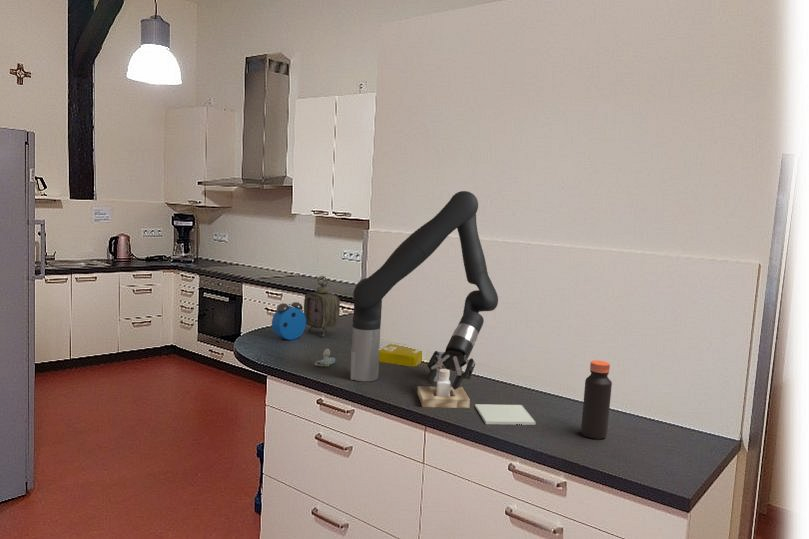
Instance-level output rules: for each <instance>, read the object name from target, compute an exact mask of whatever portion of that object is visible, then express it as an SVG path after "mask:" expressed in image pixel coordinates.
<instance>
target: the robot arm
mask: <svg viewBox="0 0 809 539" xmlns="http://www.w3.org/2000/svg"><path fill="white" fill-rule="evenodd" d="M478 201H479V200H478V198H477V197H476V195H475V194H474V193H472V192H470V191H467V190H461V191H458V192H456V193H454V194H453V195H452V197H451V198H450V200H449V201H448V202H447V203H446V204H445V205H444V207H442V208H441V209H440V211H439V212H437V214H436V215H435V216H434V217H433V218H432V219H430V220H429V221H427V222H425V223H424V224H423V225H421V226H420V227H419V228H418V229H416V230H415V231H414V232H412V233H411V234H410V235H409V236H408V237H407V238H406V239H404V241H402V242H401V243H400V244H399V245H398V246H397V247H396V248H395V249H394V250H393V252H392V253H391V254H390V256H389V257H388V258H387V259H386V261H385V262H384V263H383V265H382V266H380V267H379V268H378V269H377V270H376V271H375V272H374V273H372V274H371V275H369V276H368V277H366V278H362V279H361V280H359V281H358V282H357V283H356V285H355V287H354V288H353V289H354V290H353V294H352V295H353V297H352V298H353V316H352V329H351V330H352V334H351V352H350V380H351V381H357V382H374V381H376V380H378V379H379V372H380V371H379V365H380V362H379V350H380V349H381V348H380V346H381V344H380V343H381V326H382V306H383V305H382V303H383V299H384V298H385V296H386V295H387V294H388V293H389V292H390V291H391V290H392V289H393V288H394V286H396V284H398V283H399V282H400V281H401V280H403V279H405V278H406V277H407V276H408V275H409V274H411V273H412V272H414V270H417V268H418V267H419V266H421V265H422V264H424V262H425V261H426V260H427V259H428V258H430V257H431V256H432V254H433V253H435V251H436V250H437V249H438V248H439V247H440V246H441V244H442V243H443V242H444V241H445V240H446V238H447V237H448V236H449V235H451V233H453V232H454V231H455V230H456V229H457V232H458V237H459V242H460V246H461V254H462V260H463V268H464V271H465V277H466V281H467V282H468V283H469V284H470V285H475V286H476V287H477V288H478V290H477V289H476V290H472V291H471V292H469V293H468V294H467V296H466V298H465V301H464V306H463V313H462V316H461V319H460V321H459V322H458V324H457V326H456V327H455V329H454V331H453V332H452V335H451V337H450V339H449V341H448V343H447V345H446V347H445V350H444V351H443V352H444V353H443V354H440V353H438V352H439V351H438V350H435V351H434V352H433V354H432V355H431V357H430V359H429V360H428V363H427V365H426V367H427V368H428V369H429V373H428V375H427V378H426V379H427V382H428V384H433V382H434V379H435V377H436V375H437V374H436V373H438V372H439V370H440V369H448V370H450V371H452V372H457V375H456V377H455V378H454V380H453V383H451V384H452V385H451V387H453V389H455V390H456V389H457V388H459V387H461V384H462V382H463V380H470V379H471V377H472V375H473V372H474V369H475V366H476V362H475V361H474V358H470V355H471V353H472V351H473V349H474V346H475V345H476V342H477V341H478V340H477V339H478V336H479V334H480V332H481V330H482V327H483V325H484V323H485V322H484V321H485V320H484V317H483V315H482V314H480V312H492V311H494V310H496V308H497V306H498V304H499V295H498V293H497V291H496V289H495V286H494V285H493V282H492V280H491V278H490V276H489V272H488V269H487V268H488V267H487V262H486V258H485V255H484V251H483V248H482V244H481V239H480V236H479V232H478V227H477V212H478V210H479V202H478ZM441 358H442V359H441ZM440 359H441V360H440ZM438 360H439V361H438ZM442 363H443V366H441V364H442ZM464 366H466V368H465V369H464V370H465V371H463V367H464Z"/></svg>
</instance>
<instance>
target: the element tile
mask: <svg viewBox="0 0 809 539" xmlns="http://www.w3.org/2000/svg"><path fill="white" fill-rule="evenodd" d="M421 361H422V351H420V350H418V349H417V350H416V349H412V348H408V347H404V346H399V345H396V344H391V343H389V344H387V345H386V346H383V347H382V348H379V363H386V364H392V365H399V366H406V367H417V366H418V365H419V364H421V363H422V362H423V361H422V362H421Z"/></svg>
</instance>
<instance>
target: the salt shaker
mask: <svg viewBox="0 0 809 539" xmlns="http://www.w3.org/2000/svg"><path fill="white" fill-rule="evenodd" d="M450 375H451V370H450V371H449V370H447V369H440V370H439V380H437V382H436V387H437V393H436V396H450V387H452V385H451V384H452V383H451V380H450Z"/></svg>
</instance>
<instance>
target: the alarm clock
mask: <svg viewBox="0 0 809 539" xmlns="http://www.w3.org/2000/svg"><path fill="white" fill-rule="evenodd" d="M303 310H304V306H303V305H302V304H301V303H300V302H299V301H298V302H297V301H296V302H295V301H294V302H292V303H284V302H283V303H279V305H277V307H276V311H275V312H274V314H273V316H272V319H271V328H272V331H273V333H274V334H275V335H276V336H277V337H278V340H280V338H283V339H285V340H288V341H293V340H296V339H298V338H299V337H300V336H302V334H303V333H304V331H305V329H306V326H307V324H306V317H305V315H304V311H303Z"/></svg>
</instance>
